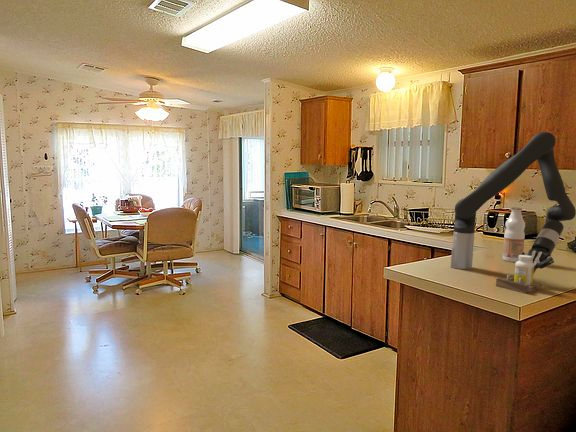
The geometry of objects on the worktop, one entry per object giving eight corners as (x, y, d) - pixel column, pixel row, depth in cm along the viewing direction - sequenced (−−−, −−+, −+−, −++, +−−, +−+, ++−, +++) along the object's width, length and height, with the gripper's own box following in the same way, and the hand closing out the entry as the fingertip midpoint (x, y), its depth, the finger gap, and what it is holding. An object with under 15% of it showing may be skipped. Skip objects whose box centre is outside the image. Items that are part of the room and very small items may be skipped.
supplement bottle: (526, 284, 173) (528, 254, 172) (535, 289, 167) (538, 257, 165) (510, 284, 173) (512, 254, 172) (519, 289, 167) (521, 257, 165)
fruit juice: (498, 259, 221) (502, 207, 217) (508, 257, 226) (512, 206, 223) (516, 263, 213) (521, 208, 210) (526, 261, 218) (530, 207, 215)
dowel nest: (512, 281, 177) (513, 270, 177) (541, 289, 167) (542, 276, 167) (495, 285, 171) (496, 273, 170) (525, 293, 161) (526, 280, 160)
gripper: (527, 234, 180) (509, 265, 175) (560, 238, 169) (542, 272, 164) (532, 244, 184) (515, 276, 179) (565, 249, 173) (548, 283, 168)
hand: (528, 274), depth 171 cm, fingers closed
